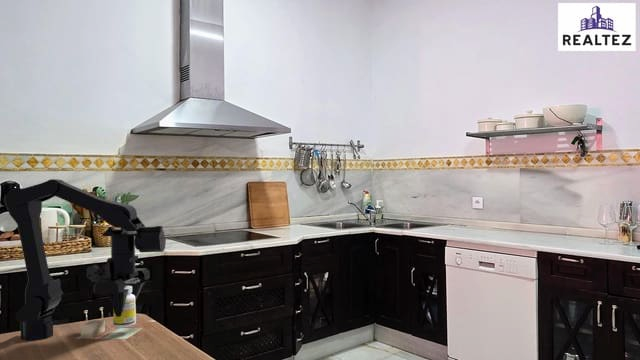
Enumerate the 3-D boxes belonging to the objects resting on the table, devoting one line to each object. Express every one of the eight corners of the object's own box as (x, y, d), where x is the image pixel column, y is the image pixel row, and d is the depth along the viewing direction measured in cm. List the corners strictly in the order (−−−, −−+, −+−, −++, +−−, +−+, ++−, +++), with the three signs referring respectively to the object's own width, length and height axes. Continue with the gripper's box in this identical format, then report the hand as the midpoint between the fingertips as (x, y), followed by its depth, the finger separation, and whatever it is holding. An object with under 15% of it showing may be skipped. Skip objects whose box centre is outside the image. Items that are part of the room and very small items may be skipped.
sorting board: (72, 344, 120) (72, 339, 120) (94, 331, 130) (94, 327, 130) (126, 344, 118) (126, 339, 118) (144, 331, 128) (144, 327, 128)
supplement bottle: (117, 322, 126) (117, 285, 126) (138, 321, 127) (138, 284, 127) (109, 328, 121) (109, 289, 121) (131, 327, 121) (131, 289, 121)
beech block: (92, 338, 120) (92, 326, 120) (80, 338, 120) (80, 326, 120) (104, 330, 126) (104, 319, 126) (93, 330, 126) (93, 319, 126)
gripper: (111, 248, 134) (112, 304, 134) (72, 258, 115) (72, 323, 115) (150, 248, 133) (151, 304, 133) (116, 258, 114) (117, 324, 114)
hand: (124, 313), depth 124 cm, fingers closed on supplement bottle, 5 cm apart
